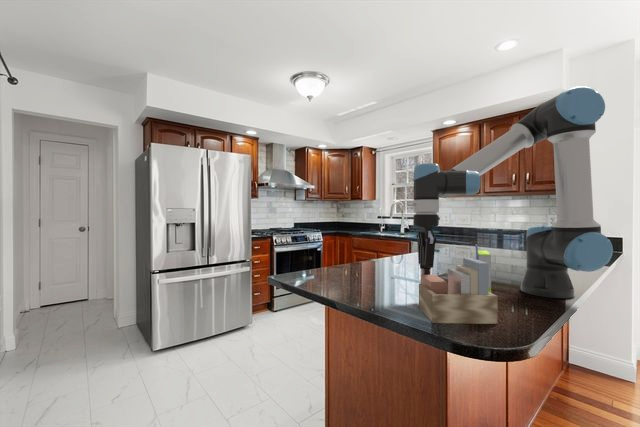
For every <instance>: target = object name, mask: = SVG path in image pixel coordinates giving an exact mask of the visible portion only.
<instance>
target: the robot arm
mask: <svg viewBox="0 0 640 427" xmlns="http://www.w3.org/2000/svg"><path fill="white" fill-rule="evenodd" d="M605 111H606V102H605V98H604V97H603V96H602V95H601V94H600V93H599V91H596V90H595V88H591V87H588V86H575V87H572V88H570V89H568V90H567V89H566V90H565V91H562V92H560V93H559V94H558V95H556V96H554V97H552V98H550V99H548V100H547V101H544V102H543V103H540V104H539V105H538V106H537V107H535V108H534V109H532V110H531V111H530V112H529V113H527V114H526V115H525V116H523V118H521V119H519V120H518V121H517V122H515V123H514V124H512V125H511V127H510V129H509V130H508V131H507V132H505V133H504V134H502V135H501V136H499V137H498V138H496V139H494V140H493V141H492V142H490V143H489V144H488V145H486V146H484V147H482V148H481V149H480V150H478V151H477V152H475V153H473V154H472V155H470V156H469V157H467V158H465V159H464V160H462V161H461V162H460V163H458V164H457V165H456V166H453V167H452V168H451V169H450V170H440V166H439V164H437V163H431V162H429V163H419V164H417V165H415V166H414V169H413V178H412V180H413V202H412V203H411V206H412V207H413V213H415V214H414V215H413V216H412V217H413V219H412V220H413V221H412V224H413V226H415V227H419V229H418V232H417V234H416V235H415V236H416V240H417V257H418V259H417V260H418V265H419V269H420V276H421V275H432V274H431V273H432V272H431V270H432V268H434V262H435V261H434V260H435V251H436V249H435V248H436V243H437V237H435V232H434V231H433V227H439V225H440V224H439V219H440V216H439V213H440V199H439V198H447V197H453V196H454V197H455V196H469V195H470V196H471V195H476V194H478V192H479V191H480V189H481V184H482V183H481V182H482V181H481V180H482V179H481V178H482V177H481V176H482V175H484V174H485V173H488V171H490V170H491V169H493V168H494V167H496V166H498V165H499V164H501V163H503V162H504V161H506V160H507V159H509V158H510V157H512V156H513V155H515V154H516V153H518V152H519V151H521V150H523V149H524V148H526V149H528V148H531V147H532V146H534V145H536V144H537V143H540V142H542V141H545V140H547V141H548V142H550V143H551V144H552V146H553V160H554V161H553V162H554V164H553V165H554V178H555V179H554V180H555V181H554V182H555V198H556V219H557V220H556V221H555V222H554V223H553V224H551V225H543V226H541V225H540V226H539V225H538V226H531V227H529V228H527V230H526V235H525V236H526V237H525V239H526V242H525V243H526V248H525V249H526V250H525V252H526V270H525V271H524V272H525V273H524V275H523V277H522V279H521V280H522V281H521V283H520V291H521V292H523V293H525V294H529V295H532V296H537V297H541V298H542V297H543V298H551V299H570V298H574V297H575V288H574V286H573V282H572V280H571V278H570V275H569V272H568V269H570V270H573V271H576V272H587V273H589V272H591V273H592V272H595V271H598V270H601V269H602V268H604V267H605V266H606V265H607V264H608V263H609V262H610V261H611V259H612V258H613V254H614V253H613V252H614V247H613V244H612V242H611V240H610V238H609V239H608V236H606V235H605V234H603V233H602V227H601V224H600V223H598V222H597V221H596V220H595V219H594V207H593V206H594V202H593V185H592V184H593V182H592V167H591V149H590V148H591V147H590V146H591V145H590V139H591V137H593V135H594V134H596V132H597V130H596V123H597V122H598V121H599V120H600V119H601V118H602V116H603V115H604V113H605Z"/></svg>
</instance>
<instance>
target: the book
mask: <svg viewBox="0 0 640 427" xmlns="http://www.w3.org/2000/svg"><path fill="white" fill-rule="evenodd" d="M420 284H424V285H425V286H426V287H427V288H429V289H430V290H431V291H433V292H434V293H435V294H448V280H447V281H446V280H445V279H443V278H442V277H440V276H438V275H437V274H431V275H421V274H420Z"/></svg>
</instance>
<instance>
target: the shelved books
mask: <svg viewBox="0 0 640 427" xmlns="http://www.w3.org/2000/svg"><path fill="white" fill-rule="evenodd" d="M462 262H463V264H456V265H455V269H458V270H460V271H462V272H464V273H466V274H469V275H470V295H489V263H486V262H483V261H480V260H476V258H473V257H463V258H462Z"/></svg>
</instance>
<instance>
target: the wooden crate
mask: <svg viewBox="0 0 640 427" xmlns="http://www.w3.org/2000/svg"><path fill="white" fill-rule="evenodd" d="M418 309H419V310H420V311H421V310H422V311H421V312H422V313H423V314H424V315H425V316H426V317H427V319H429V320H430V322H432V324H472V325H473V324H477V325H478V324H479V325H482V324H484V325H485V324H486V325H487V324H488V325H489V324H490V325H491V324H492V325H494V324H495V325H496V324H497V325H498V295H496V294H494V293H492V292H491V293H490V292H489V295H466V294H448V293H447V294H435V293H434V292H433V291H431V290H430V289H429V288H427V287H426V286H425V285H424V284H421V283H418Z"/></svg>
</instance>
